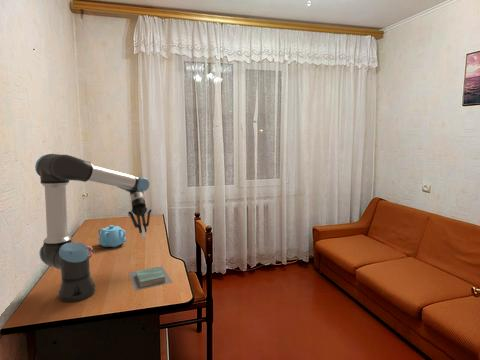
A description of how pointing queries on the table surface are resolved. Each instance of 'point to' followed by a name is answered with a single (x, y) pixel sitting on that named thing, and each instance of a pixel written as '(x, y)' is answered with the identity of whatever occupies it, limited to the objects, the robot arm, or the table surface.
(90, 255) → the decorative key
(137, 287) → the mat
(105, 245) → the decorative pot
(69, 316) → the table surface
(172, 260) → the table surface
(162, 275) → the plaque
